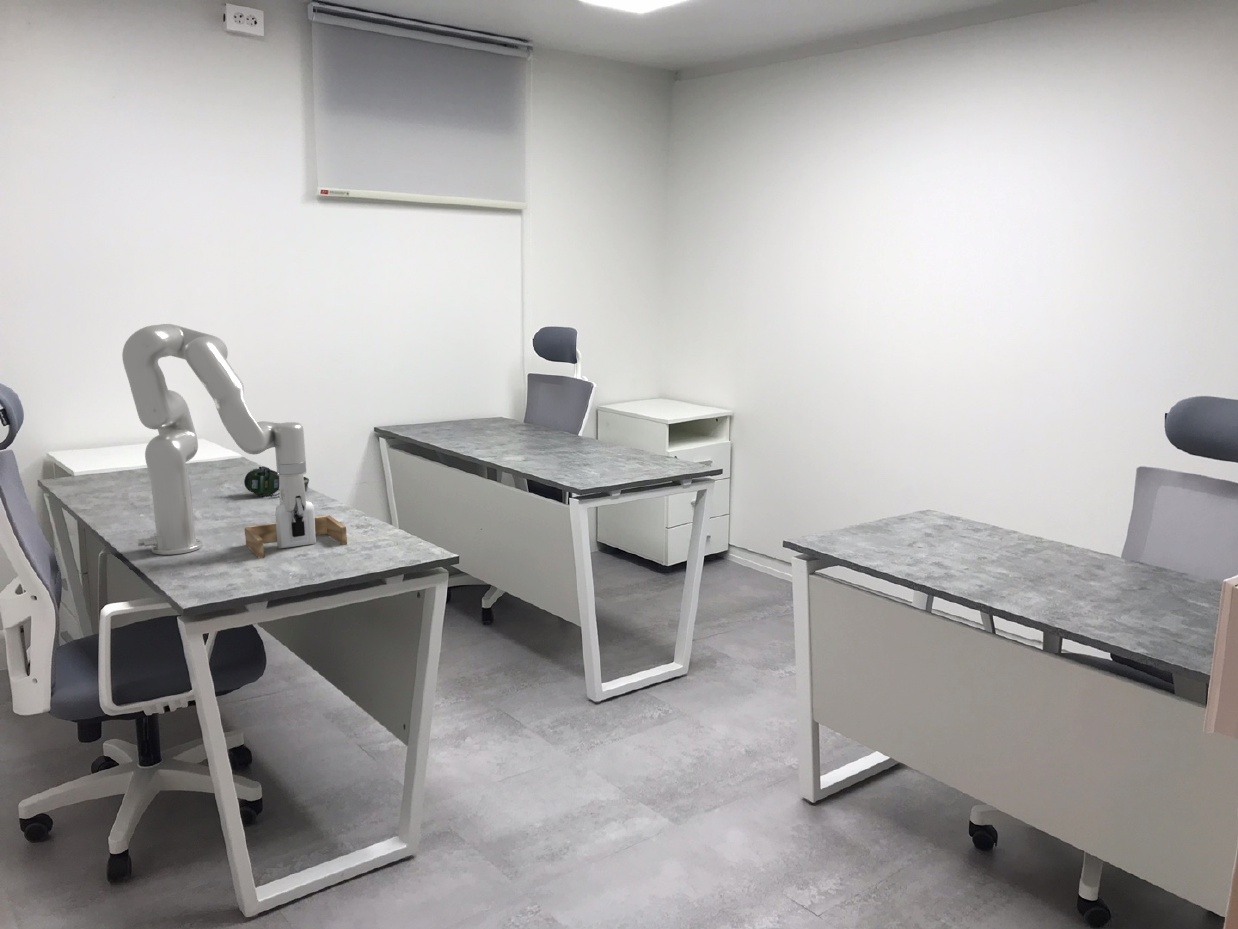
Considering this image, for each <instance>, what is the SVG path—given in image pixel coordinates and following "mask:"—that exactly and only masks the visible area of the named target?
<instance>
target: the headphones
mask: <svg viewBox="0 0 1238 929" xmlns="http://www.w3.org/2000/svg"><path fill="white" fill-rule="evenodd" d="M303 477H304V485H305V491H306V492H307V491H308V487H309V481H310V479H309V478H308V477H306V476H303ZM243 483H244V486H245V488H246V490H247V491H248V492H250V493H252V494H255V495H257V497H258V496H262V498H267V496H269V497H270V498H272V497H276V496H280V495H279V476H278V475H277V470H276V471H275V470H273V469H270V468H269V467H267V466H258V468H254V469H252V470H250V471H248V472H247V473H246V475H245V477H244V480H243ZM277 492H278V493H277ZM276 493H277V494H276Z"/></svg>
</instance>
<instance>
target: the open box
mask: <svg viewBox="0 0 1238 929" xmlns="http://www.w3.org/2000/svg"><path fill="white" fill-rule="evenodd" d="M314 519H315V536H320V535H319V534H322V535H328V536H330V535H331V536H332V537H331V536H330V537H331V538H332V539H334V540H335V541H337V542H338V541H339V542H340V545H342V546H346V545H348V536H347V526H345V524H343V523H342V522H340V521H338V520H337V519H336V518H334V517H332V516H331V515H323V516H322V515H321V516H314ZM244 537H245V545H246V546H247V547H248V548H249V550H250V551H251V552H252V553H254V555H256V557H257V558H259V559H264V558H265V552H264V544H268V543H274V542H277V532H276V522H270V523H265V524H259V525H257V524H256V525H250V526H244ZM339 542H338V543H339Z"/></svg>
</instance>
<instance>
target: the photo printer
mask: <svg viewBox="0 0 1238 929" xmlns="http://www.w3.org/2000/svg"><path fill="white" fill-rule="evenodd" d="M302 507H304V506H303V504H302ZM294 511H297V509H294ZM303 512H304V515H303V516H304V528H305V535H304V536H298V537H293V536H292V523H291V522H293V520H292V512H290V513H289V512H287V511H286V509H285V506H284V504H281V505H280V504H278V505H276V507H275V512H274V513H275V514H274V515H275V523H276V532H277V541H276V542H277V548H278V549H286V548H293V547H300V546H308V545H313V544H316V543H317V542H316V540H317V539H316V535H315V519H314V517H315V508H314V505H313V503H312V501H307V500H306V509H305V510H304V511H303ZM296 514H297V513H295V515H296Z"/></svg>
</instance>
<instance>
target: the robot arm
mask: <svg viewBox="0 0 1238 929" xmlns="http://www.w3.org/2000/svg"><path fill="white" fill-rule="evenodd" d="M228 353H229V352H228V347H227V345H226V344H225V342H224V341H223V340H222V339H221V338H220V337H218V336H215V335H213V334H208V333H205V332H201V331H197V330H193V329H190V328H187V327H183V326H180V325H177V324H171V323H162V324H153V325H148V326H143V328H140V329H138V330H136V331H135V332H134V333H132V334H131V335H130V336H129V337H128V338H127V340H126V341H125V343H124V345H123V348H122V353H121V355H122V356H121V357H122V364H123V367H124V371H125V374H126V376H127V379H128V384H129V387H130V392H131V394H132V398H133V401H134V406H135V410H136V412H137V416H138V418H139V421H140V422H141V424H142V425H143V426H144V427H146V428H148V429H149V430H157V432H158V435H156V436H154V437H152V438H151V440H149V442H148V444H147V445H146V448H145V451H144V458H145V463H146V467H147V470H148V474H149V481H150V488H151V495H152V503H153V504H152V505H153V513H154V515H153V516H154V523H155V530H156V531H155V532H153V535H150V537H146V538H145V537H143V538H142V537H141V538H137V545H138V547H142V546H143V547H150V546H151V548H150V549H151V552H152V553H153V554H155V555H163V556H165V555H169V556H171V555H180V554H186V553H190V552H195V551H197V550H199V549H201V548H202V547H203V541H202V539H198V538H197V537H196V527H195V519H194V518H195V516H194V507H193V506H194V505H193V495H192V489H191V488H192V487H191V486H192V485H191V480H190V475H189V471H188V468H187V464H186V463H187V462H189V461H190V460H192V459H193V458H194V457H195V455H196V454H197V452H198V449H199V442H198V437H197V433H196V429H195V425H194V423H193V418H192V414H191V412H190V409H189V405H188V403H187V401H186V400H185V398H184V397H183V396H182V395H181V394H180V393H179V392H177V391H175V390H171V389H168V386H167V381H166V378H165V376H164V373H163V371H162V369H161V367H160V365H159V360H160V359H161V358H167V357H174V358H178V359H182V360H185V361H186V363H187V364H188V366H189V368H190V369H191V370H192V372H193V373H194V374H195V375H196V377H197V378H198V380H199V381H200V382H201V384H202V386H203V387H204V388H205V389H206V391H207V393H208V394H209V395H210V397H211V398H212V400H213V401H214V405H215V408H216V410H217V413H218V415H219V418H220V420H221V423H222V424H223V426H224V428H225V429H226V431H227V432H228V434H229V435H230V437H231V438H232V440H233V441H234V443H236V445H237V446H238V448H240V449H241V450H242V451H243V452H244V453H246V454H249V455H260V454H261V453H264V452H265V451H266V450H269V449H271V448H274V449H275V462H276V463H275V464H276V465H275V466H276V472H277V475H278V476H279V489H278V493H279V495H278V496H279V505H281V504H284V506H285V509H286V511H287V512H289V513H290V512H292V520H293V522H291V523H292V536H293V537H298V536H304V535H305V528H304V516H303V515H304V512H303V511H304V510H305V509H306V501H307V497H306V496H307V494H306V492H305V485H304V477H305V476H304V475H306V473H307V463H306V461H307V460H306V449H305V448H306V447H305V446H306V445H305V432H304V426H303V424H302V423H299V422H295V421H293V422H292V421H288V422H286V421H285V422H273V421H257V422H256V420H255V419H254V417H253V416H252V414H251V412H250V411H249V409H248V407H247V405H246V401H245V387H244V383H243V382H242V380H241V378H240V377H239V376H238V374H237V373H236V372H235V370H234V369H233V367H232V365H231V364H230V363H229V362H228V360H227V359H228V356H229V354H228ZM302 504H303V506H304V507H302ZM294 509H297V511H294ZM295 513H297V514H296V515H295Z"/></svg>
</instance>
